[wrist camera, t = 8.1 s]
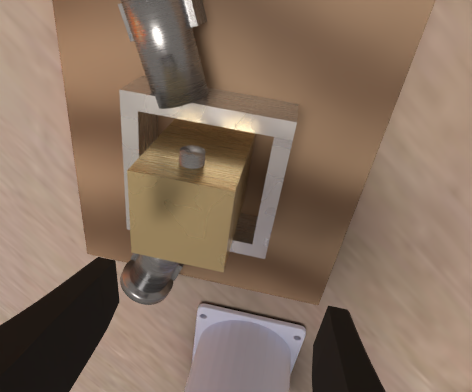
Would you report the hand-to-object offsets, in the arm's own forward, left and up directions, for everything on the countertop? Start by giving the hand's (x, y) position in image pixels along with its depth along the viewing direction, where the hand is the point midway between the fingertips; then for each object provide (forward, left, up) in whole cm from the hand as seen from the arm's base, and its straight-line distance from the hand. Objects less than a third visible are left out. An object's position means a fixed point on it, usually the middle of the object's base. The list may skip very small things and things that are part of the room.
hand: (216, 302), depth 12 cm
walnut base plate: (+1, +2, -9) cm, 10 cm away
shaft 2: (-5, +4, -9) cm, 11 cm away
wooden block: (+1, +2, -9) cm, 9 cm away
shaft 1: (+7, +4, -9) cm, 12 cm away
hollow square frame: (+1, +2, -9) cm, 10 cm away
